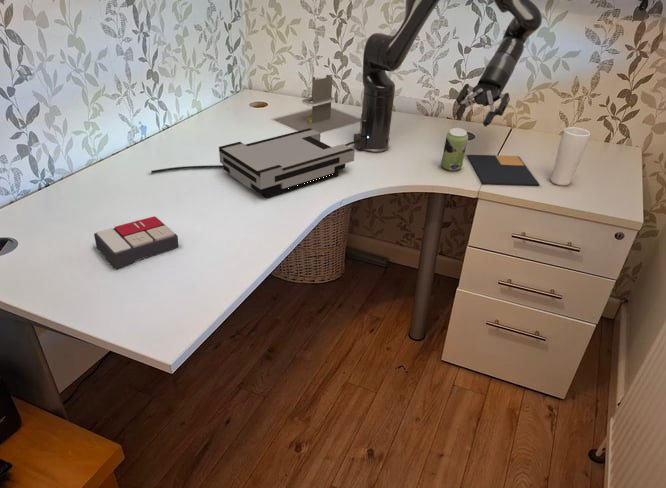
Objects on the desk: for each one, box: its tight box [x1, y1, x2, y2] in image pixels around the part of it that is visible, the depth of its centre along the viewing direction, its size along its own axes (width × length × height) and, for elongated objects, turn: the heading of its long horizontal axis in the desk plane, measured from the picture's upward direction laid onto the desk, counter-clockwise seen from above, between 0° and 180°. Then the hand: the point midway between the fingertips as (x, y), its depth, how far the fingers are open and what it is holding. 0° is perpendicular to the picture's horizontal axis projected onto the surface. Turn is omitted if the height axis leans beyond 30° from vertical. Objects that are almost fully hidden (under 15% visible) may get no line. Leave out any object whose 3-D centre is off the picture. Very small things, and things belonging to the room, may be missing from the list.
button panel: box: [94, 215, 180, 269], centre depth 118 cm, size 11×4×15 cm
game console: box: [218, 128, 356, 200], centre depth 150 cm, size 21×32×8 cm, turn 127°
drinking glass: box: [550, 126, 591, 187], centre depth 147 cm, size 7×7×15 cm
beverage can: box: [441, 127, 469, 172], centre depth 154 cm, size 6×7×12 cm
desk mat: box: [466, 154, 540, 187], centre depth 158 cm, size 16×20×1 cm
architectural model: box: [273, 74, 361, 134], centre depth 185 cm, size 20×25×15 cm
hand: (470, 121), depth 155 cm, fingers open, 8 cm apart
